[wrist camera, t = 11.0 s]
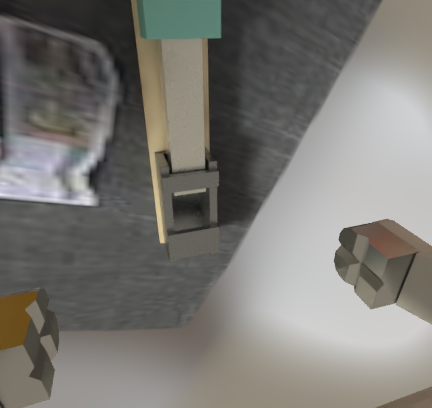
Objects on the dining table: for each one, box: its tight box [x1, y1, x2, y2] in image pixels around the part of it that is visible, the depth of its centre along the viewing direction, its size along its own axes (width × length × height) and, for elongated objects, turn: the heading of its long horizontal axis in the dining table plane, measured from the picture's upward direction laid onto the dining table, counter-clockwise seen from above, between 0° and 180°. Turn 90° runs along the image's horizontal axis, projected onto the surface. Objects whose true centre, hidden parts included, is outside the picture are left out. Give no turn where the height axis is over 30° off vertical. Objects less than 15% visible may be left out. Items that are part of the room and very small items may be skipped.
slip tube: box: [156, 38, 206, 196], centre depth 35 cm, size 4×20×4 cm, turn 1°
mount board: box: [131, 0, 210, 243], centre depth 40 cm, size 8×34×1 cm, turn 1°
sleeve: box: [154, 147, 219, 262], centre depth 41 cm, size 7×14×6 cm, turn 1°
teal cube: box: [136, 0, 221, 39], centre depth 30 cm, size 7×6×7 cm
